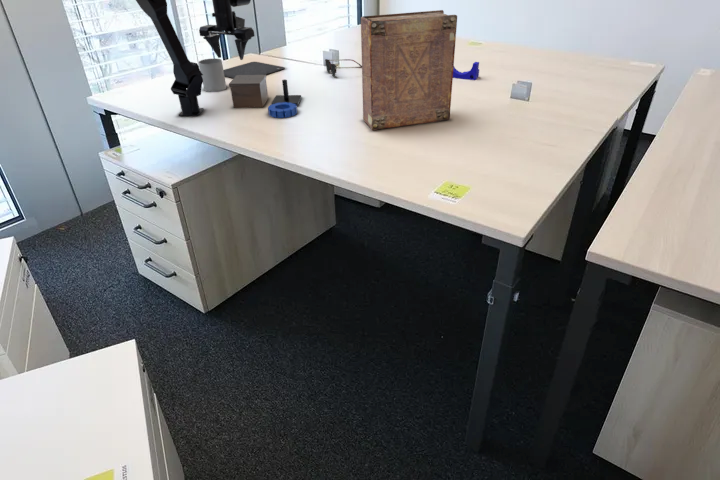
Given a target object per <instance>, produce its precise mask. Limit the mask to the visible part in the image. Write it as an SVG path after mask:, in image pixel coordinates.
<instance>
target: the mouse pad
mask: <svg viewBox="0 0 720 480" xmlns="http://www.w3.org/2000/svg"><path fill="white" fill-rule="evenodd" d="M285 68H286V67H284V66H280V65H275V64H270V63H264V62H260V61H250V62H247V63H243V64H240V65H237V66H236V65H235V66H233V67H229V68H225V69H223V70H224V76H225V78H231V79H234V78H235V77H236V75H266V76H267V75H269V74H273V73H276V72H279V71H282V70H285Z"/></svg>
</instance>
